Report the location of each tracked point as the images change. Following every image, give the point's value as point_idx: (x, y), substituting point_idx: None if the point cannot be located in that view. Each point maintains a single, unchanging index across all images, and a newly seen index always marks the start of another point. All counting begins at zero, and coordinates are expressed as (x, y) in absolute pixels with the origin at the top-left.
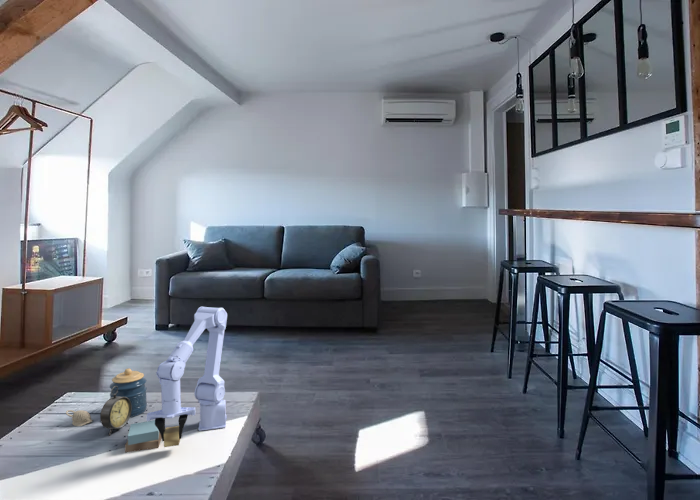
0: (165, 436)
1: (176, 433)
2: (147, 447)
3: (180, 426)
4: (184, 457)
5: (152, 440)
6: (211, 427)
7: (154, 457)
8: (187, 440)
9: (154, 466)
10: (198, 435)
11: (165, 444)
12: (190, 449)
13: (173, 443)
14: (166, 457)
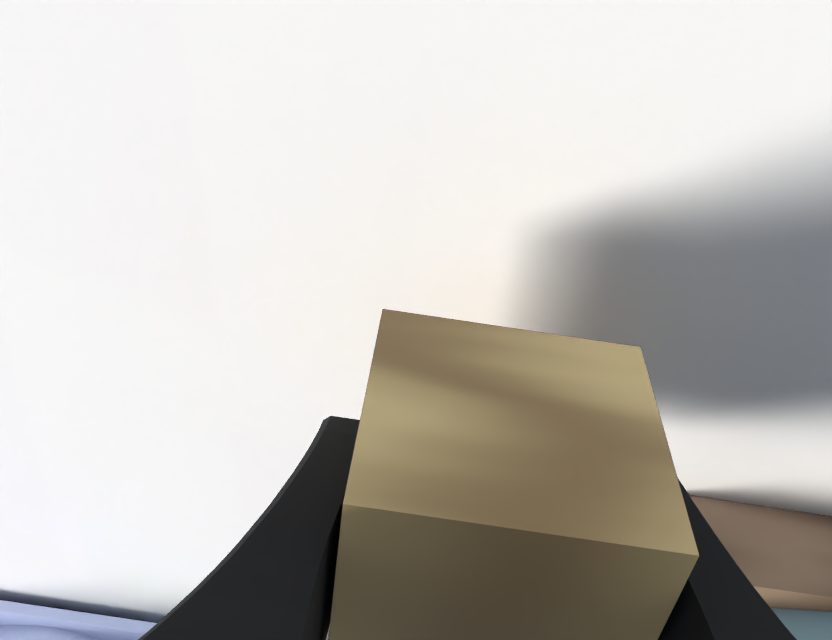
0: (645, 496)
1: (395, 486)
2: (804, 533)
3: (262, 628)
4: (312, 92)
5: None
6: (30, 627)
7: (757, 292)
8: None
9: (824, 4)
10: (175, 554)
11: (622, 375)
12: (238, 291)
13: (475, 350)
14: (590, 217)
